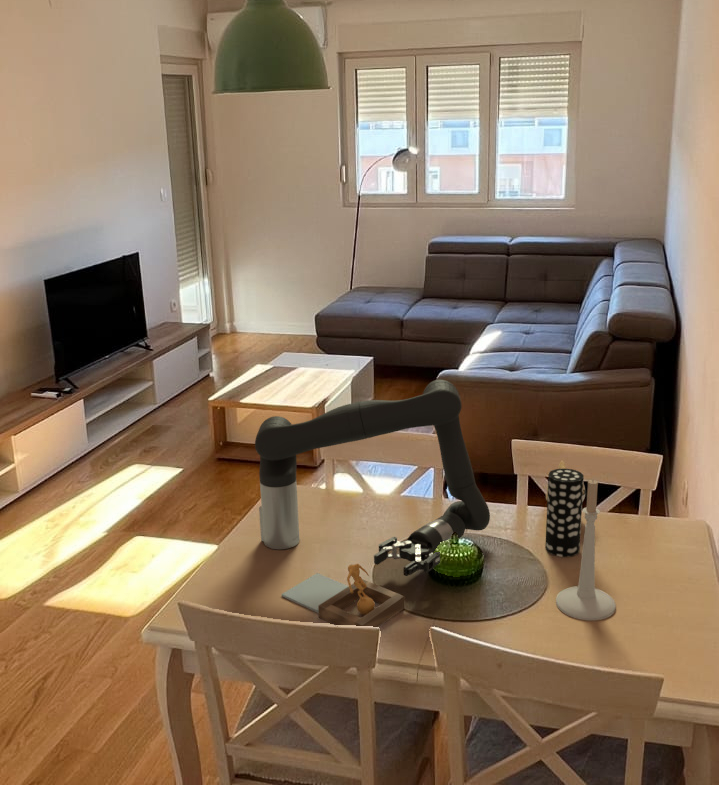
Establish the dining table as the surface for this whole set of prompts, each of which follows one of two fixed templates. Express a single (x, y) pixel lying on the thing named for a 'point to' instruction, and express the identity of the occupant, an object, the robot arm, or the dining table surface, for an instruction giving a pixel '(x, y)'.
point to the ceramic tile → (314, 591)
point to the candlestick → (587, 574)
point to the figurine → (360, 589)
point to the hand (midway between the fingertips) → (389, 566)
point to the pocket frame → (336, 604)
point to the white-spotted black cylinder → (564, 512)
